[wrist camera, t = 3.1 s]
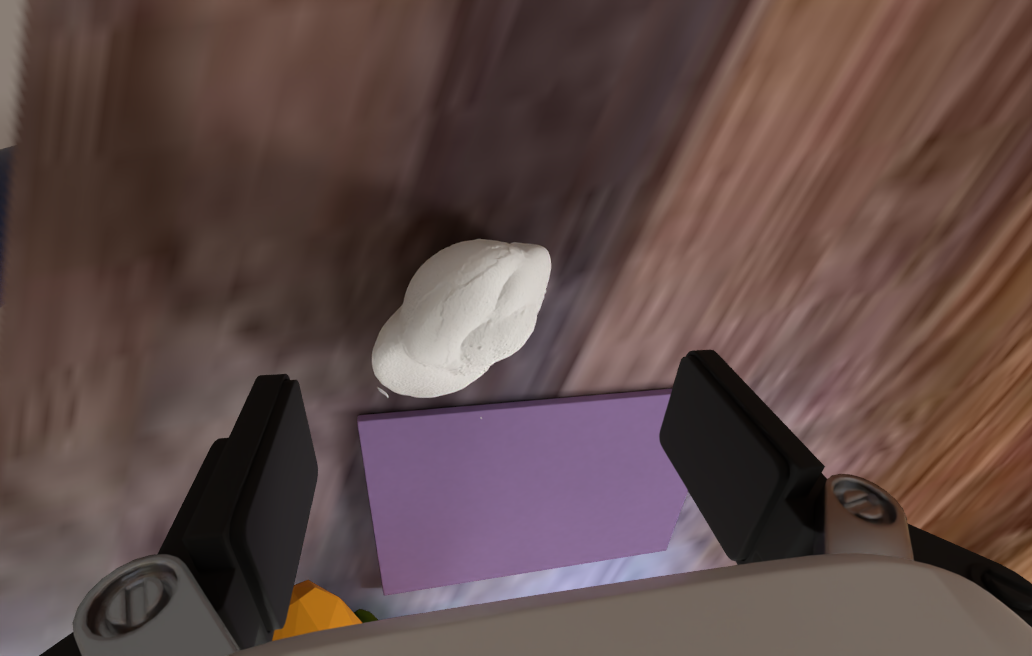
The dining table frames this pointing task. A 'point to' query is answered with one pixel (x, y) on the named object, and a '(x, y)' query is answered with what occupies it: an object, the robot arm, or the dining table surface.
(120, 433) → the dining table surface
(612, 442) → the cloth
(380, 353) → the dumpling
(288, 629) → the corn
